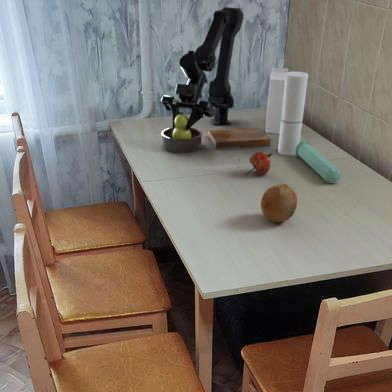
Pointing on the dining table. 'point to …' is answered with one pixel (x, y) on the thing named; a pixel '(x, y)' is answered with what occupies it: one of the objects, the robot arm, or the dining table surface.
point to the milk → (275, 100)
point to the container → (317, 162)
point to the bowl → (181, 141)
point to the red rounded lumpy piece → (260, 162)
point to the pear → (181, 127)
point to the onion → (279, 203)
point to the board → (239, 138)
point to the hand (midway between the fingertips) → (179, 128)
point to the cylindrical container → (292, 112)
